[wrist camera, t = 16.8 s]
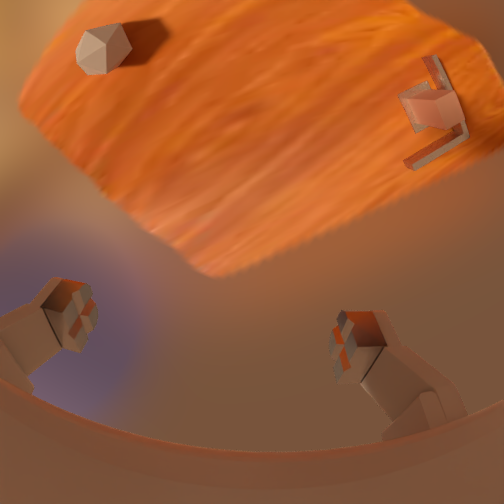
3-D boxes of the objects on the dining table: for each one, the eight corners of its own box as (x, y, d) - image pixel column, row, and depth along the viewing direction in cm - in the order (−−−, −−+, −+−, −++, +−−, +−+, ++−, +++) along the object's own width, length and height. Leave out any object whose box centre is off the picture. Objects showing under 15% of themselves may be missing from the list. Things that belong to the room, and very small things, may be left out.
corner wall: (405, 166, 38) (414, 171, 35) (364, 83, 32) (372, 82, 29) (459, 134, 34) (469, 137, 31) (426, 56, 28) (436, 54, 25)
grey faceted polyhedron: (151, 46, 30) (122, 5, 20) (119, 88, 30) (81, 49, 20) (118, 49, 31) (89, 16, 22) (88, 87, 31) (53, 56, 22)
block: (406, 98, 32) (434, 100, 25) (425, 89, 31) (454, 90, 24) (418, 123, 34) (446, 130, 27) (435, 113, 32) (465, 119, 26)
